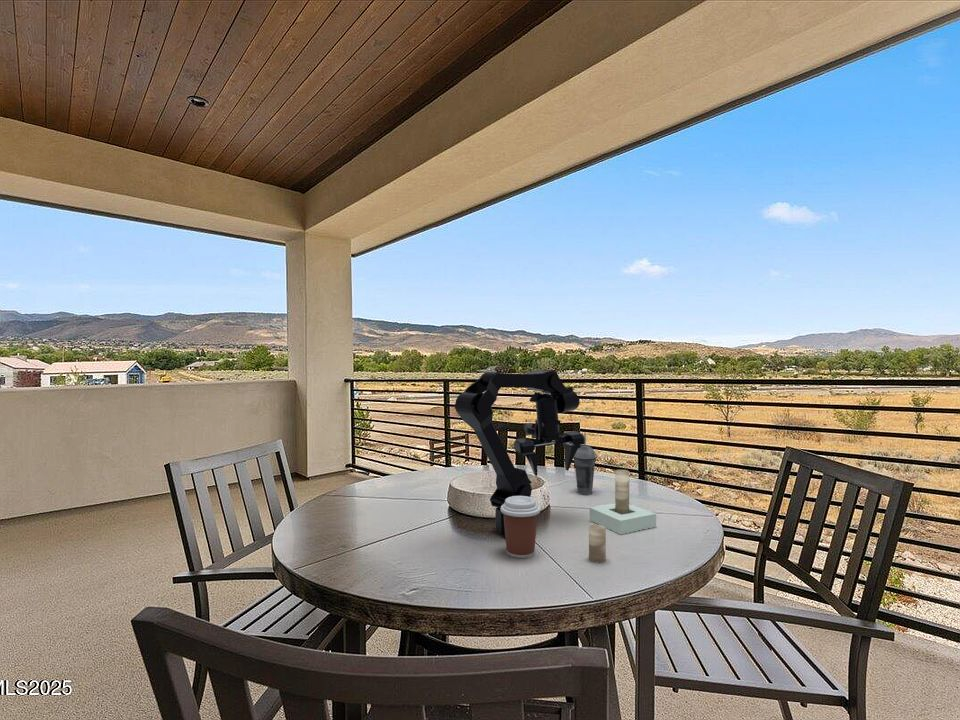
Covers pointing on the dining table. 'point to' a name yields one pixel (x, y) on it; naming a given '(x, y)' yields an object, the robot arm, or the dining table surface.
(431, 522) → the dining table surface
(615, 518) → the collar block
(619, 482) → the tall pin
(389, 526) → the dining table surface
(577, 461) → the beverage cup
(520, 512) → the coffee cup
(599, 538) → the short pin
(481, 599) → the dining table surface
